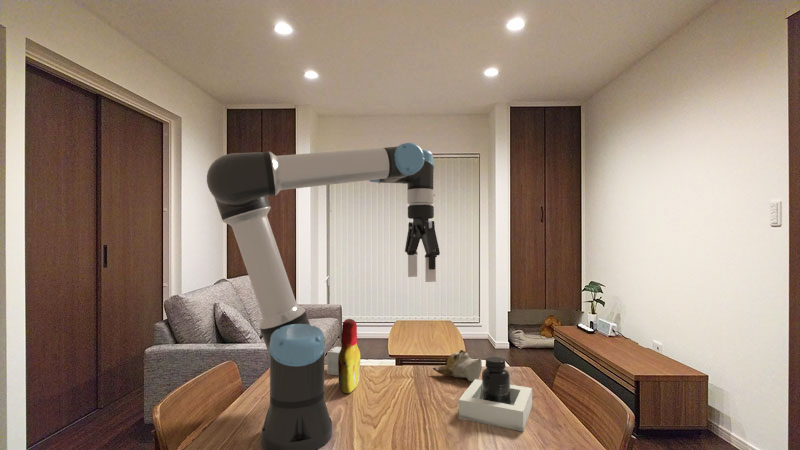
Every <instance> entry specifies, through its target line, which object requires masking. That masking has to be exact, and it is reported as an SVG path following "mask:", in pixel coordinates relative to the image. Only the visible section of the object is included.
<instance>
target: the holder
mask: <svg viewBox="0 0 800 450" xmlns="http://www.w3.org/2000/svg"><path fill="white" fill-rule="evenodd" d="M510 400H511V405H510V404H504V403H499V402H493V401H488V400H483V394H482V379H479V378H478V379H475V380H474V381H473V382H471V383H470V385H469V386H468V388H467V389H466V390H465V391H464V393H463V394H462V395H461V396H460V397H459V399H458V420H459V419H460V420H464V421H467V422H469V421H470V422H474V423H478V424H479V423H480V424H484V425H489V426H492V427H497V428H502V429H503V428H504V429H508V430H511V431H512V430H513V431H516V432H517V431H518V432H522V433H523V432H525V428H526V426H527V422H528V419H529V416H530V413H531V410H532V408H533V407H532V406H533V388H532V387H527V386H521V385H515V384H510Z"/></svg>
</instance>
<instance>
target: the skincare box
mask: <svg viewBox="0 0 800 450" xmlns="http://www.w3.org/2000/svg"><path fill="white" fill-rule="evenodd" d="M341 347H342V346H335V347H332V348H331V349H329V350H328V351H326V352H327V353H326V355H327V358H326V363H327V364H326V365H327V367H326V368H327V374H328V375H333V376H339V373H338V357H339V353H340V350H341Z"/></svg>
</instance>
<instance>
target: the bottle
mask: <svg viewBox="0 0 800 450" xmlns="http://www.w3.org/2000/svg"><path fill="white" fill-rule="evenodd" d="M357 327H358V325H357V322H356V320H355V319H352V318H347V319H345V320H344V321H343V322H342V327H341V328H342V329H341V341H340V342H341V343H340V344H341V346H340V347H341V350H340V353H339V357H338V373H339V375H338V385H339V389H340V390H341V392H342V393H345V394H351V393H352V392H353V391H354V390H355V389H356V388H357V386H358V385H359V382H360V379H361V375H360V374H361V373H360V372H361V351H360V348H359V347H358V332H357V331H358V328H357Z"/></svg>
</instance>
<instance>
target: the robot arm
mask: <svg viewBox="0 0 800 450" xmlns="http://www.w3.org/2000/svg"><path fill="white" fill-rule="evenodd" d="M434 169H435V162H434V156H433V152H431V151H430V150H428V149H422V148H421V147H420V145H418V144H416V143H414V142H405V143H400V144H399V145H398V146H389V147H388V146H387V147H375V148H364V149H363V148H362V149H361V148H360V149H350V150H349V149H346V150H338V151H335V150H334V151H325V152H322V151H321V152H311V153H299V154H298V153H296V154H284V155H282V154H281V155H275V154H274V153H273V152H271V151H262V152H258V151H257V152H236V153H235V152H234V153H227V154H223V155H222V156H220V157H217V159H215V160H214V161H213V162H212V163H211V165H210V166H209V168H208V170H207V172H206V173H207V175H206V185H207V187H208V189H209V192H210V194H211V195H212V196H213V197H214V200H215V203H216V207H217V210H218V212H219V214H220V217H221V221H222V222H223V223H225V224H227V225H229V226H230V227H231V228H232V231H233V234H234V238H235V240H236V243H237V246H238V249H239V251H240V254H241V258H242V261H243V263H244V266H245V269H246V272H247V275H248V277H249V280H250V283H251V286H252V289H253V292H254V295H255V297H256V301H257V303H258V307H259V309H260V312H261V316H262V320H261V322H260V324H259V329H260V332H261V336H262V338H263V341H264V342H263V343H264V344H265V346H266V351H267V353H268V360H269V406H268V409H267V413H266V416H265V420H264V423H263V425H262V428H261V433H260V438H261V439H260V445H261V447H262V449H264V450H319V449H321V447H324V446H325V445H326V444H327V443H328V442H329V441H330V440H331V438H332V436H333V421H332V419H331V416H330V413H329V410H328V407H327V403H326V400H325V351H326V341H325V334H324V332H323V331H322V329H320V327H318V326H316V325H311V324H310V320H309V317H308V314H307V310H306V309H305V308H304V307H302V306H300V305H298V304H297V301H296V298H295V295H294V292H293V289H292V286H291V284H290V280H289V277H288V273H287V272H286V268H285V265H284V263H283V260H282V257H281V254H280V251H279V248H278V244H277V242H276V241H277V240H276V238H275V236H274V233H273V229H272V227H271V224H270V220H269V217H268V214H269V212H270V210H271V209H272V207H271V204H270V200H269V197H271V196H273V197H274V196H277V195H278V194H279V193H280V191H284V190H293V189H295V190H296V189H302V188H313V187H323V186H328V185H329V186H330V185H337V184H347V183H356V182H363V181H364V182H365V181H369V182H370V183H378V184H382V183H383V184H402V185H403V184H404V185H406V184H407V190H406V191H407V192H406V193H407V195H406V196H407V197H406V198H407V199H406V200H407V202H406V203H407V204H408V206H407V218H408V219H410V220H413V221H409V222H408V224H407V225H408V226H407V227H408V229H407V230H408V231H407V236H406V242H405V248H404V253H406V254H407V277H408V278H414V277H418V251H417V250H418V247H419V245H420V244H419V243H420V241H421V242H422V245H423V248H424V252H425V255H424V258H425V260H424V261H425V263H424V264H425V265H424V266H425V267H424V268H425V269H424V270H425V271H424V272H425V277H424V278H425V282H426V283H432V282H433V283H435V282H436V281H437V275H436V273H437V271H436V269H437V264H436V263H437V262H436V261H437V257H438V256H440V255H441V253H440V247H439V243H438V237H437V233H436V229H435V224H436V223H435V220H430V219H433V218H434V217H435V213H434V212H435V209H434V208H435V206H434V201H435V200H434V197H435V195H436V194H434Z"/></svg>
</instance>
